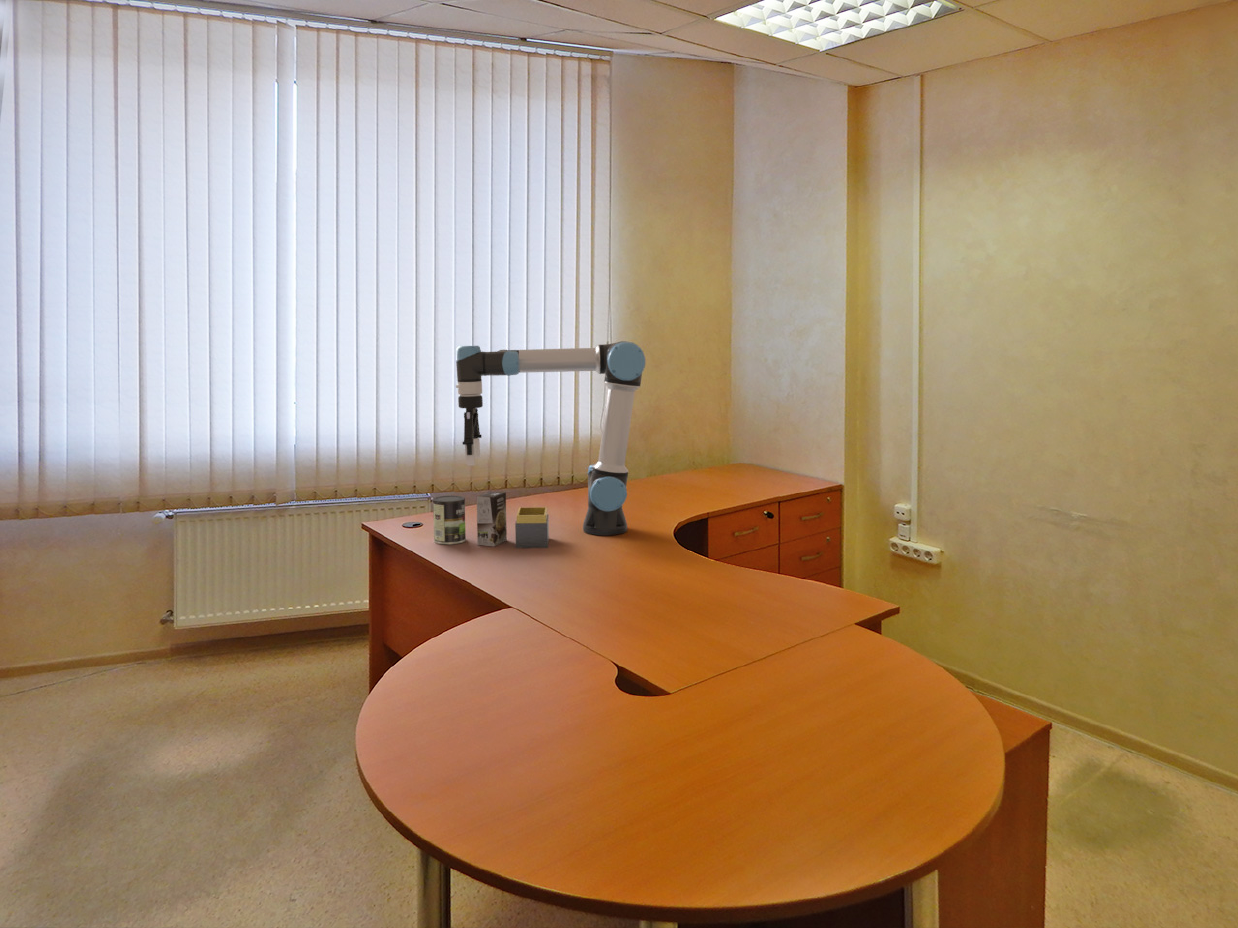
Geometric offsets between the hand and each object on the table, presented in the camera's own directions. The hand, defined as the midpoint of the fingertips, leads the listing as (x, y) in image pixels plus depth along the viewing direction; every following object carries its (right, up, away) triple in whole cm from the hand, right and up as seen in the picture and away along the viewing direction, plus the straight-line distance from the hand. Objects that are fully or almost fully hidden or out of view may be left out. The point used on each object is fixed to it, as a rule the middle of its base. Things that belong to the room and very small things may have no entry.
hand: (473, 461), depth 269 cm
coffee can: (-9, -26, +6) cm, 28 cm away
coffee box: (+6, -26, +4) cm, 27 cm away
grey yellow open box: (+19, -26, +3) cm, 32 cm away
